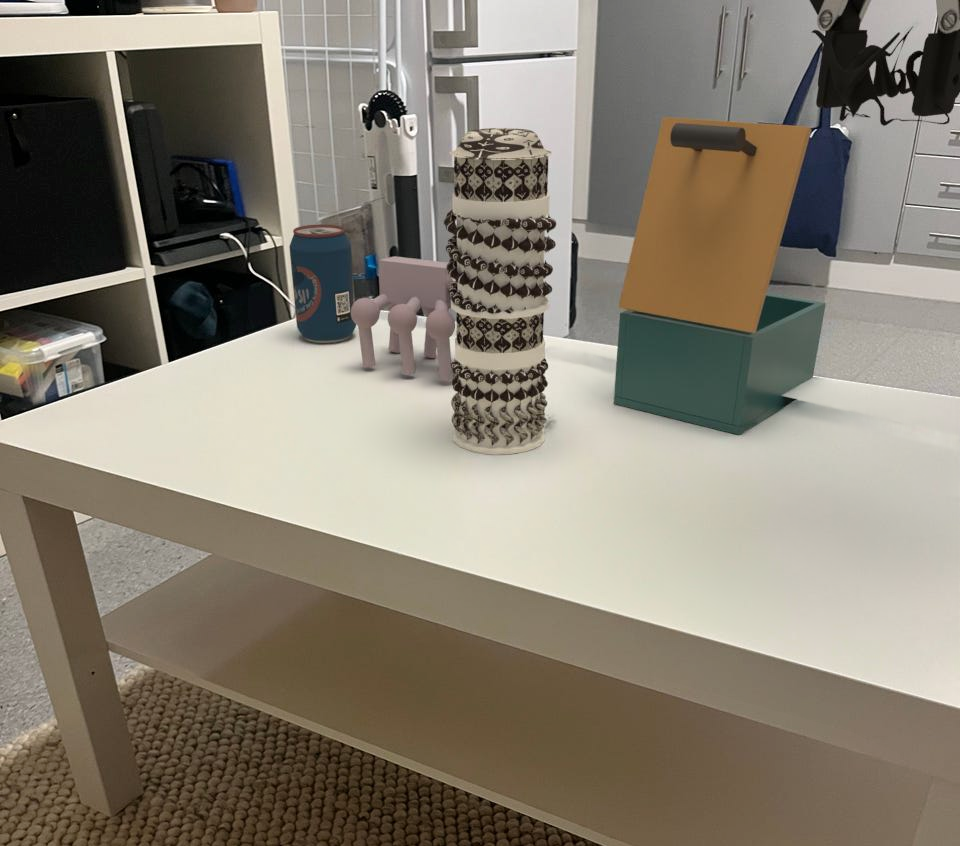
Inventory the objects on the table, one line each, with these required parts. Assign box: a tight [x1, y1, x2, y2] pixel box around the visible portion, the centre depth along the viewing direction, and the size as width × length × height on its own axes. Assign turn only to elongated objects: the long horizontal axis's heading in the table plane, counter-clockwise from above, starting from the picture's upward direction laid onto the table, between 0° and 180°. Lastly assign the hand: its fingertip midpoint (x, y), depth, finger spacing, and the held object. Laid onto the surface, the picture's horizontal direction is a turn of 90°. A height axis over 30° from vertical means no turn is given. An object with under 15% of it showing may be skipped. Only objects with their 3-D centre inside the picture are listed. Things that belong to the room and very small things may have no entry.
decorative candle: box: [443, 127, 557, 455], centre depth 85 cm, size 9×9×25 cm
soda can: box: [288, 224, 357, 344], centre depth 117 cm, size 7×7×12 cm
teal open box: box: [613, 292, 827, 435], centre depth 99 cm, size 16×14×9 cm
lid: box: [618, 116, 812, 334], centre depth 87 cm, size 16×14×5 cm
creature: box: [811, 25, 951, 127], centre depth 59 cm, size 8×5×8 cm
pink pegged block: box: [351, 255, 456, 382], centre depth 105 cm, size 20×11×14 cm, turn 62°
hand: (882, 106), depth 60 cm, fingers closed on creature, 5 cm apart
